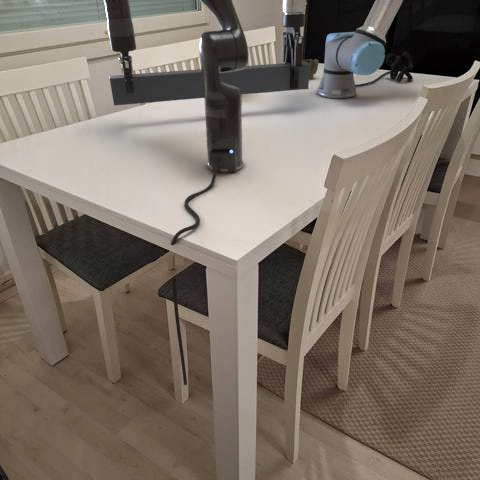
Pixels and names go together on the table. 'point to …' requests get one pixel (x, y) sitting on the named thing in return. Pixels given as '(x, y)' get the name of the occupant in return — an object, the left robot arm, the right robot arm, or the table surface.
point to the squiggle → (399, 66)
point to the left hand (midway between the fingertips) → (130, 90)
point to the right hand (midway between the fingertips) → (291, 86)
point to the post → (191, 86)
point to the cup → (312, 66)
